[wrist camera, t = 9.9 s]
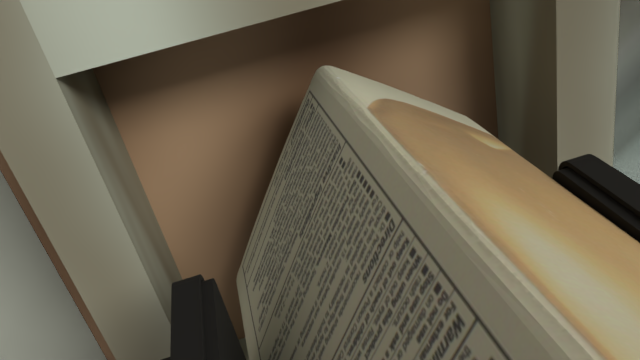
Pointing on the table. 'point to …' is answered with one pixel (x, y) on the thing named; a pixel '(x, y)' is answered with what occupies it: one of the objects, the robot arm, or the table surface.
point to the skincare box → (426, 243)
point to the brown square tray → (251, 120)
